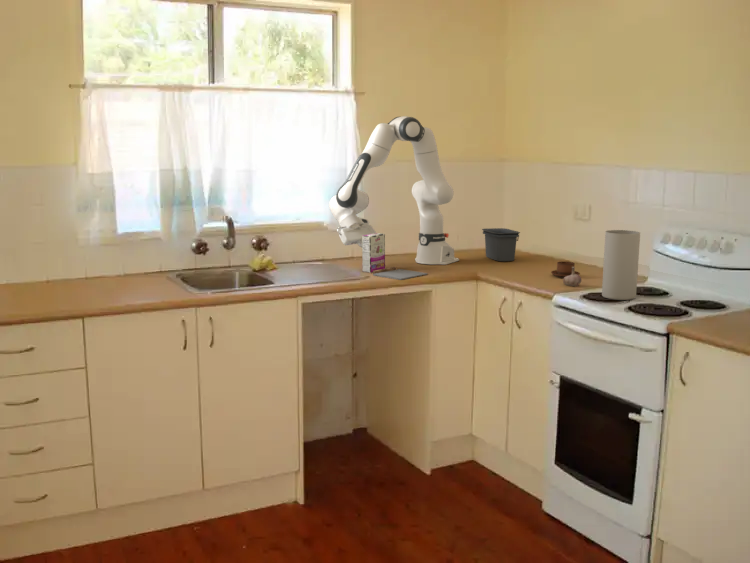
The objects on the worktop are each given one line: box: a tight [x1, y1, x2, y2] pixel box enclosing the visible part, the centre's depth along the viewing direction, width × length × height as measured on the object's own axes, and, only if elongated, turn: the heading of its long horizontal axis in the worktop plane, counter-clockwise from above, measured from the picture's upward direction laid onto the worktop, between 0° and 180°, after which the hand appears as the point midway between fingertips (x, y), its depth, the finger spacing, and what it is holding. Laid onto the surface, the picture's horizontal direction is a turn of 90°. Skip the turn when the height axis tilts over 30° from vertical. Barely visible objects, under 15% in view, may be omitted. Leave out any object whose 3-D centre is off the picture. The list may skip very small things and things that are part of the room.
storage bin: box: [481, 227, 521, 262], centre depth 399 cm, size 21×16×14 cm
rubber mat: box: [372, 268, 429, 281], centre depth 354 cm, size 18×16×1 cm
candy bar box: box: [361, 232, 386, 273], centre depth 364 cm, size 11×5×16 cm, turn 143°
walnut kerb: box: [372, 266, 397, 275], centre depth 360 cm, size 14×1×2 cm, turn 137°
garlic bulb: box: [562, 266, 582, 288], centre depth 332 cm, size 8×7×8 cm
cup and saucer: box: [550, 261, 581, 279], centre depth 353 cm, size 12×12×6 cm
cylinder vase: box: [601, 229, 641, 301], centre depth 307 cm, size 12×12×25 cm
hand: (367, 249), depth 366 cm, fingers closed
